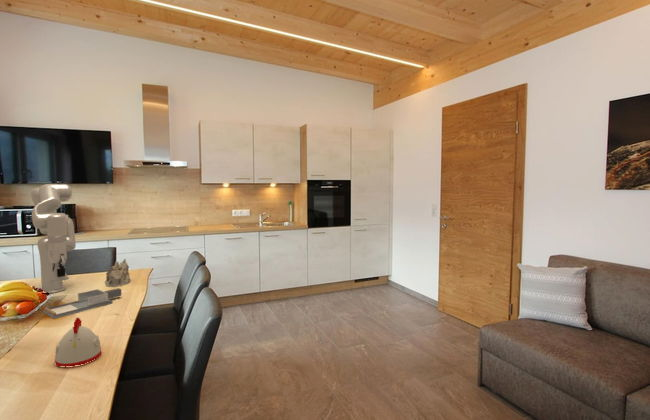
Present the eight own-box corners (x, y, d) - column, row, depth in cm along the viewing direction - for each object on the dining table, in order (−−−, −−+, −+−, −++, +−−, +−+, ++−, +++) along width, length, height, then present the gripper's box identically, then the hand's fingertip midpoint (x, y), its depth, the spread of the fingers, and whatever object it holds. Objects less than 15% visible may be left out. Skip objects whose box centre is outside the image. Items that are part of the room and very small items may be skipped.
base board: (43, 312, 171) (42, 307, 171) (101, 298, 192) (101, 294, 192) (53, 318, 164) (53, 313, 164) (112, 303, 185) (112, 299, 185)
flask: (58, 282, 171) (57, 262, 171) (46, 281, 173) (45, 261, 172) (71, 278, 178) (71, 259, 178) (60, 277, 180) (59, 258, 179)
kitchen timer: (49, 371, 120) (47, 328, 119) (61, 352, 133) (59, 314, 131) (97, 363, 126) (96, 322, 124) (104, 346, 138) (102, 309, 137)
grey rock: (115, 278, 230) (114, 256, 228) (136, 281, 226) (135, 259, 224) (94, 286, 215) (92, 263, 213) (116, 290, 211) (115, 266, 209)
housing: (78, 301, 183) (77, 293, 182) (114, 292, 197) (114, 285, 197) (88, 306, 176) (87, 298, 176) (125, 297, 191) (125, 289, 190)
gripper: (41, 238, 176) (43, 274, 177) (54, 242, 166) (56, 280, 168) (59, 237, 182) (61, 271, 183) (73, 240, 172) (74, 276, 174)
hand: (59, 275), depth 175 cm, fingers closed on flask, 4 cm apart
